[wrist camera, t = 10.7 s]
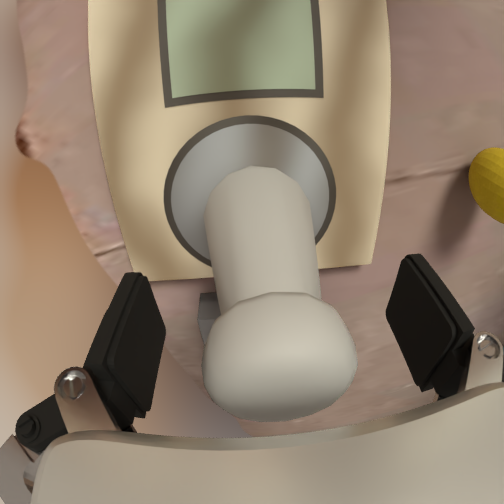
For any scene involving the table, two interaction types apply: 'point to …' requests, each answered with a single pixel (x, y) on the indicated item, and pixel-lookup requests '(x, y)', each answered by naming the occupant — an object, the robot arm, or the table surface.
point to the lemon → (488, 182)
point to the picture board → (240, 117)
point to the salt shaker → (270, 304)
